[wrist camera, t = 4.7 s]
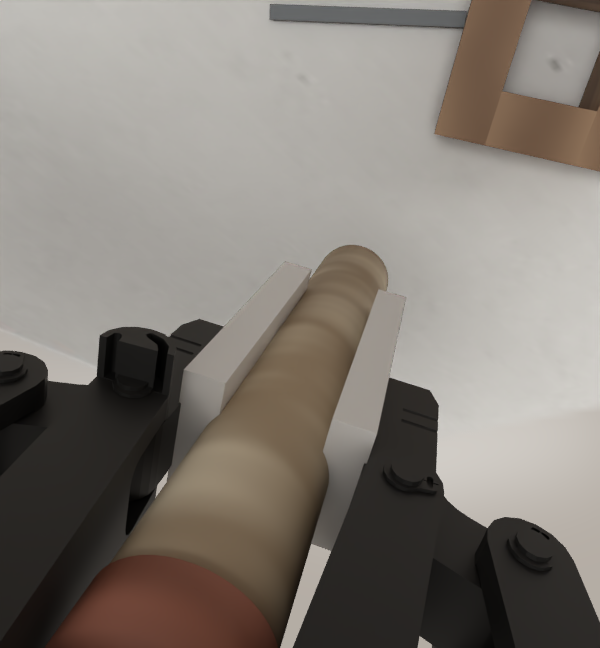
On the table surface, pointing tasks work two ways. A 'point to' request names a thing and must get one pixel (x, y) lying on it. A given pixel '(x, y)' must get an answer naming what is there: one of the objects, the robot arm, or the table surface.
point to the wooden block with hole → (511, 109)
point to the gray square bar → (368, 15)
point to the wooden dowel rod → (240, 492)
